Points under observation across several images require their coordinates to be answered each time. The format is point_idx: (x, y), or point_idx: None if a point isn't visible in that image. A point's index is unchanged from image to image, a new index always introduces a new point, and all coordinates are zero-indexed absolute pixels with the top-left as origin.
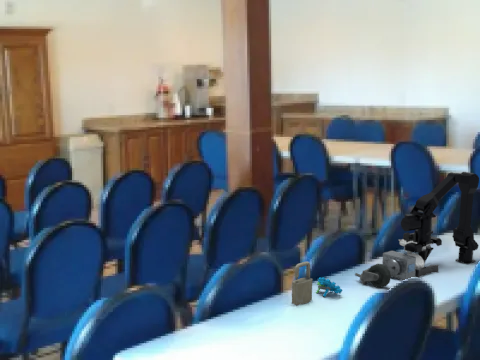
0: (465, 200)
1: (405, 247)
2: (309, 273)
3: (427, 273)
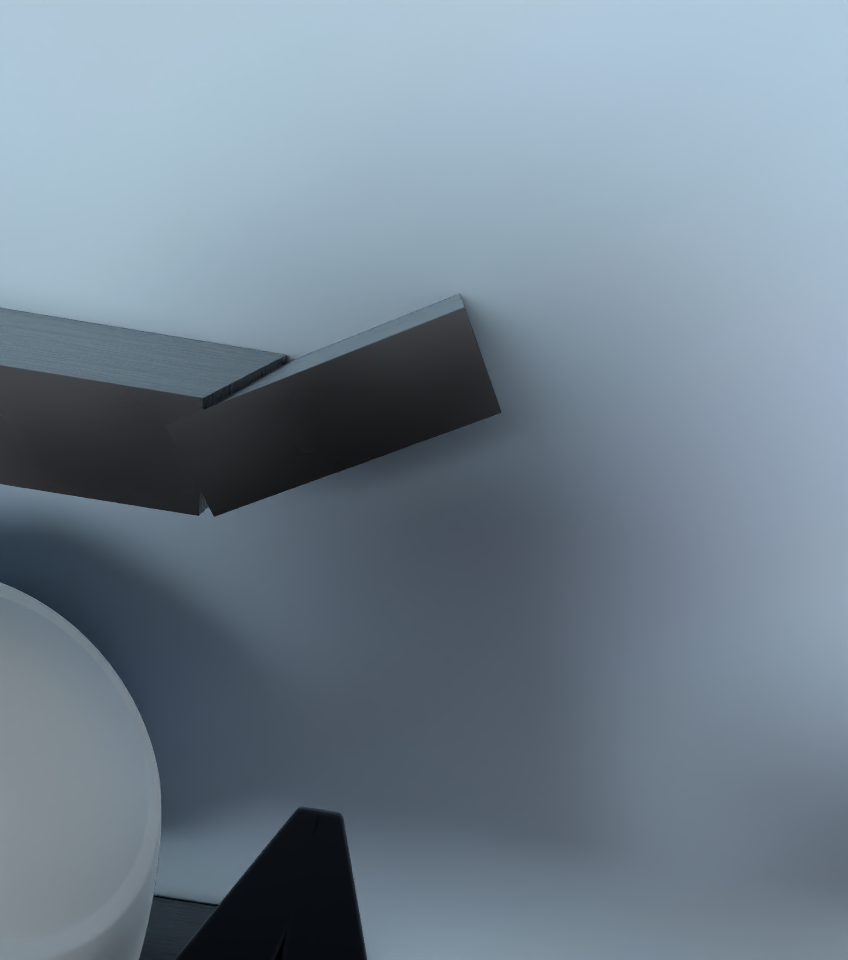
0: None
1: None
2: None
3: None
